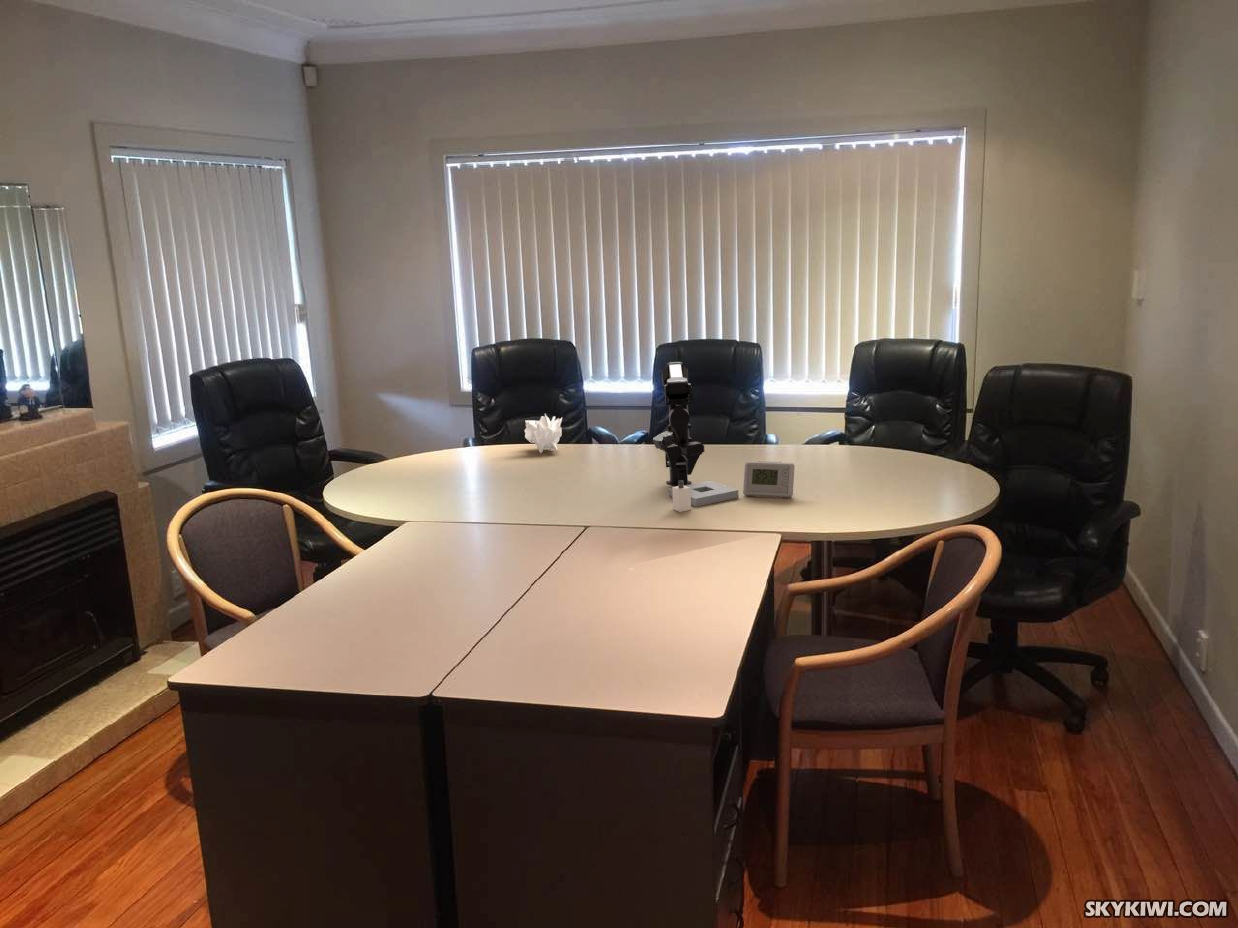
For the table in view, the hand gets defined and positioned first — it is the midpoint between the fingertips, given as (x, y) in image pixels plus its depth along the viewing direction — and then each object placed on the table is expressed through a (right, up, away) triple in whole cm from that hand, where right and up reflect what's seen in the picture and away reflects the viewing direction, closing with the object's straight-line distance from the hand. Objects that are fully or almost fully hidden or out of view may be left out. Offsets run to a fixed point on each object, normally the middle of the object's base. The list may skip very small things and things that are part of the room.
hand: (681, 472), depth 313 cm
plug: (0, -11, +3) cm, 12 cm away
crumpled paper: (-49, +7, +96) cm, 108 cm away
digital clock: (+29, -8, +13) cm, 32 cm away
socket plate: (+8, -8, +15) cm, 19 cm away
